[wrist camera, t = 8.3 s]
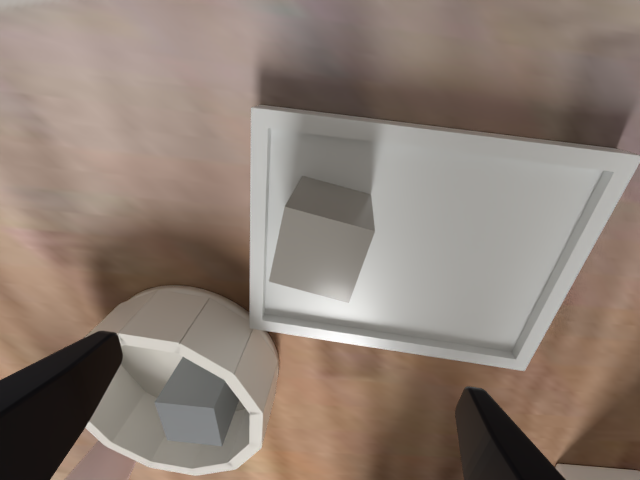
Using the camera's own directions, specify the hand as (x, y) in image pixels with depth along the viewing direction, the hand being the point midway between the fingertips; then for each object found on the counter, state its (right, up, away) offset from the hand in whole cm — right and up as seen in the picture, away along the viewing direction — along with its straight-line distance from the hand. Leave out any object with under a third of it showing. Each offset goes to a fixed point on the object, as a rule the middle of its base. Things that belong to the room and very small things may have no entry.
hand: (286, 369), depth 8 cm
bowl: (-8, -5, +16) cm, 19 cm away
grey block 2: (+1, +5, +9) cm, 10 cm away
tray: (+6, +3, +10) cm, 12 cm away
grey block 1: (-7, -6, +15) cm, 18 cm away
